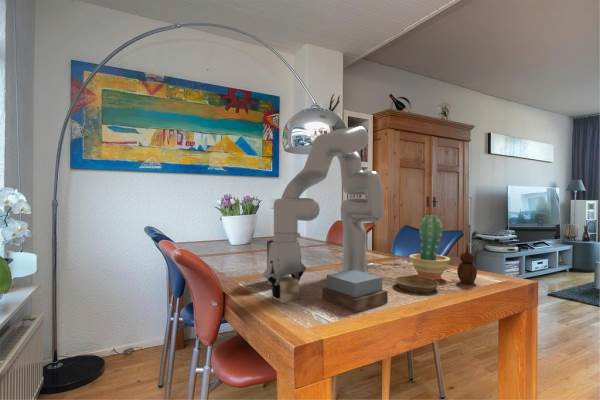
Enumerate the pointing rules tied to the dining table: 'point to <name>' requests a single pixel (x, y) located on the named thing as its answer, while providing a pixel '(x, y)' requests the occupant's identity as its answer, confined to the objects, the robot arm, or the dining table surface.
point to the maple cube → (288, 289)
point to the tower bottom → (355, 299)
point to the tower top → (354, 283)
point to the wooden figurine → (467, 268)
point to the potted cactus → (430, 249)
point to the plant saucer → (416, 284)
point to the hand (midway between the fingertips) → (285, 294)
